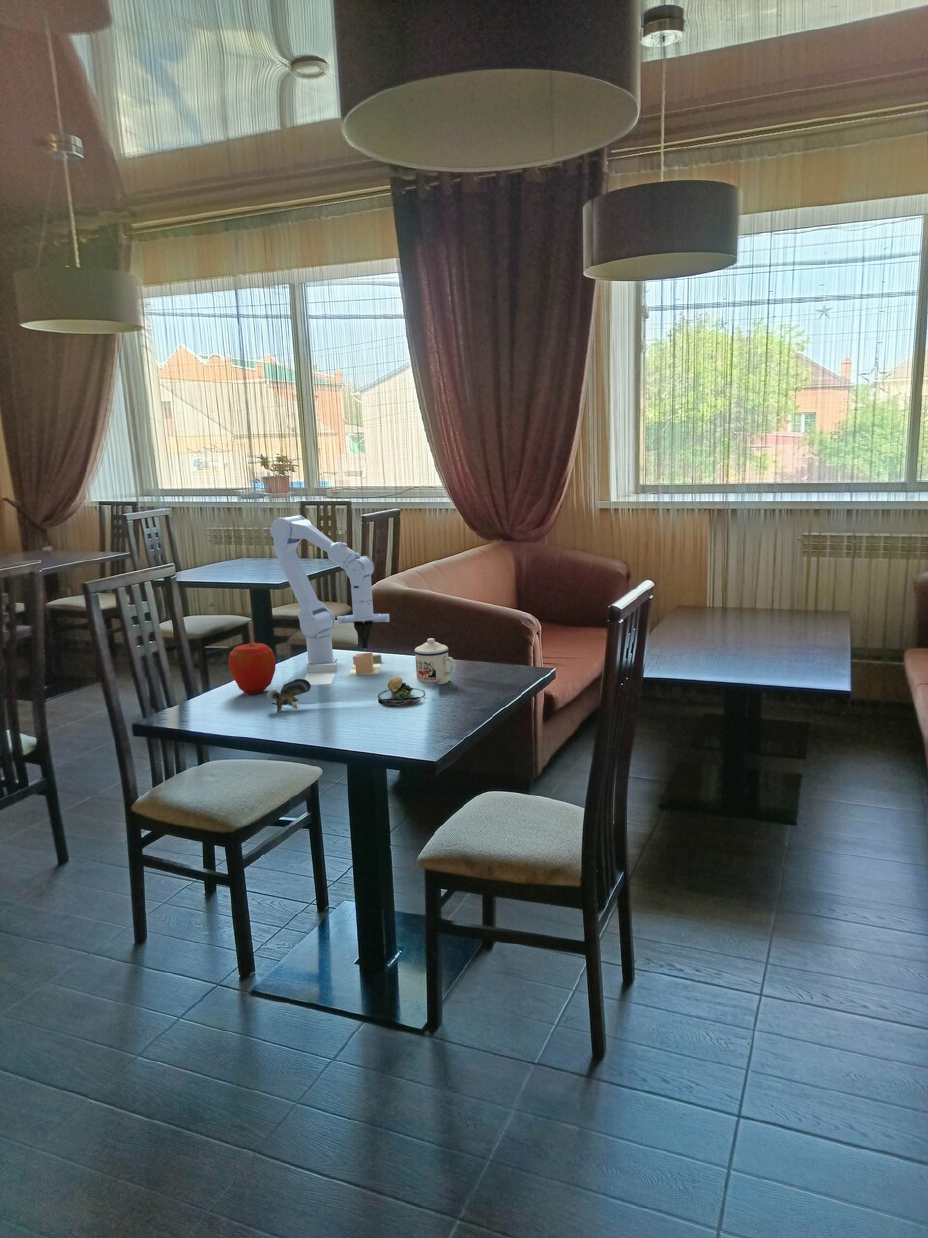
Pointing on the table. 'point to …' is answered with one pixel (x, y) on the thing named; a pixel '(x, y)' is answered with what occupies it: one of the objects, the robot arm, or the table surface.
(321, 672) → the grey strip
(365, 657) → the block
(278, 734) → the table surface
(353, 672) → the beige lipped tray
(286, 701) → the grey-brown animal figure
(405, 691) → the burger
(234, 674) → the apple
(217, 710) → the table surface
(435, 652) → the teacup with lid
